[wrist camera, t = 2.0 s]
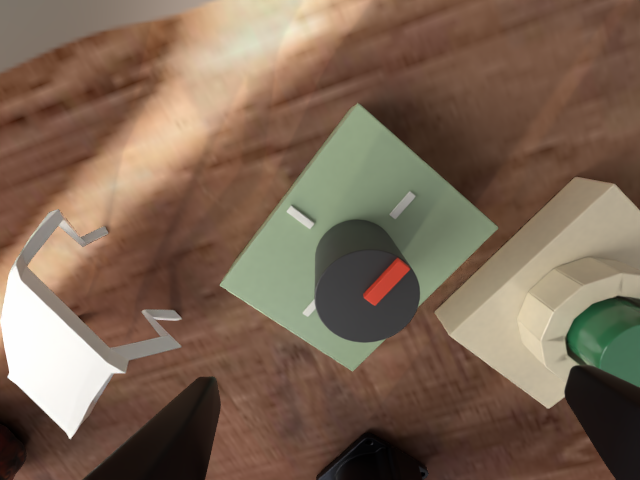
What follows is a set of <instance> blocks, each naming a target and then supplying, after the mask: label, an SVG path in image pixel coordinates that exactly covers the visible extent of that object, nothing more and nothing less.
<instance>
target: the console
mask: <svg viewBox="0 0 640 480" xmlns="http://www.w3.org/2000/svg"><path fill="white" fill-rule="evenodd" d="M357 219H358V220H366V221H370V222H373V223H375V224H377V225H379V226H380V227H382V228H383V229H384V230H385V231H386V232H387V233H388V234H389V236H390V237H391V238H392V240H393V241H394V243H395V244H396V246H397V247H398V249H399V250H400V252H401V253H402V255H403V256H404V257H405V259H406V260H407V262H408V263H409V265H410V266H411V268H412V269H413V271H414V273H415V274H416V276H417V279H418V282H419V286H420V300H419V305H418V307H419V306H420V305H421V304H422V303H423V302H424V301H425V300H426V299H427V298H428V297H429V296H430V295H431V294H432V293H433V292H434V291H435V290H436V289H437V288H438V287H439V286H440V285H441V284H442V283H443V282H444V281H445V280H446V279H447V278H448V277H449V276H450V275H451V274H452V273H453V272H454V271H455V270H456V269H457V268H458V267H459V266H460V265H461V264H462V263H463V262H464V261H466V260H467V259H468V258H469V257H470V256H471V255H472V254H473V253H474V252H475V251H476V250H477V249H478V248H479V247H480V246H481V245H482V244H483V243H484V242H485V241H486V240H487V239H488V238H489V237H490V236H491V235H492V234H493V233H494V232H495V231H496V230H497V229H498V226H497V225H495V224H494V223H493V222H492V221H491V220H490V219H489V218H488V217H486V216H485V215H484V214H483V213H482V212H481V211H480V210H479V209H477V208H476V207H475V206H474V205H473V204H472V203H471V202H470V201H468V200H467V199H466V198H465V197H464V196H463V195H462V194H461V193H459V192H458V191H457V190H456V189H455V188H454V187H453V186H452V185H450V184H449V183H448V182H447V181H446V180H445V179H444V178H443V177H441V176H440V175H439V174H438V173H437V172H436V171H435V170H434V169H432V168H431V167H430V166H429V165H428V164H427V163H426V162H425V161H423V160H422V159H421V158H420V157H419V156H418V155H417V154H415V153H414V152H413V151H412V150H411V149H410V148H409V147H408V146H406V145H405V144H404V143H403V142H402V141H401V140H400V139H399V138H397V137H396V136H395V135H394V134H393V133H392V132H391V131H390V130H388V129H387V128H386V127H385V126H384V125H383V124H382V123H381V122H379V121H378V120H377V119H376V118H375V117H374V116H373V115H372V114H370V113H369V112H368V111H367V110H366V109H365V108H364V107H363V106H361V105H360V104H359V103H358V104H356V105H355V106H353V107H352V108H350V109H349V111H348V112H347V113H346V115H345V116H344V117H343V119H342V120H341V121H340V123H339V124H338V125H337V127H336V128H335V129H334V131H333V132H332V133H331V135H330V136H329V137H328V138H327V140H326V141H325V142H324V144H323V145H322V146H321V148H320V149H319V150H318V152H317V153H316V154H315V156H314V157H313V158H312V160H311V161H310V162H309V164H308V165H307V166H306V168H305V169H304V170H303V172H302V173H301V174H300V175H299V177H298V178H297V179H296V181H295V182H294V183H293V185H292V186H291V187H290V189H289V190H288V191H287V193H286V194H285V195H284V197H283V198H282V199H281V201H280V202H279V203H278V205H277V206H276V207H275V208H274V210H273V211H272V212H271V214H270V215H269V216H268V218H267V219H266V220H265V222H264V223H263V224H262V226H261V227H260V228H259V230H258V231H257V232H256V234H255V235H254V236H253V238H252V239H251V240H250V241H249V243H248V244H247V245H246V247H245V248H244V249H243V251H242V252H241V253H240V255H239V256H238V257H237V259H236V260H235V261H234V263H233V264H232V266H231V268H230V269H229V271H228V272H227V274H226V275H225V277H224V279H223V280H222V282H221V283H220V286H221V287H223V288H224V289H226V290H227V291H229V292H230V293H232V294H234V295H235V296H237V297H238V298H240V299H241V300H243V301H244V302H246V303H247V304H249V305H251V306H252V307H254V308H255V309H257V310H258V311H260V312H261V313H263V314H265V315H266V316H268V317H269V318H271V319H272V320H274V321H275V322H277V323H278V324H280V325H282V326H283V327H285V328H286V329H288V330H289V331H291V332H292V333H294V334H295V335H297V336H299V337H300V338H302V339H303V340H305V341H306V342H308V343H309V344H311V345H313V346H314V347H316V348H317V349H319V350H320V351H322V352H323V353H325V354H326V355H328V356H330V357H331V358H333V359H334V360H336V361H337V362H339V363H340V364H342V365H343V366H345V367H347V368H348V369H350V370H351V371H354V370H355V369H356V368H357V367H358V366H359V365H360V364H361V363H362V362H363V361H364V360H365V359H366V358H367V357H368V356H369V355H370V354H371V353H372V352H373V351H374V350H375V349H376V348H377V347H378V346H379V345H380V344H381V343H382V342H383V341H384V340H385V339H384V340H380V341H376V342H368V343H361V342H353V341H349V340H346V339H343V338H341V337H339V336H337V335H335V334H334V333H332V332H331V331H330V330H329V329H328V328H327V327H326V326H325V325H324V324H323V323H322V321H321V320H320V318H319V316H318V314H317V311H316V307H315V300H314V289H315V253H316V248H317V246H318V243H319V241H320V239H321V238H322V237H323V235H324V234H325V233H326V232H327V231H328V230H329V229H331V228H332V227H333V226H335V225H337V224H339V223H341V222H344V221H348V220H357Z"/></svg>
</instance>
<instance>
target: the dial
mask: <svg viewBox="0 0 640 480" xmlns="http://www.w3.org/2000/svg"><path fill="white" fill-rule="evenodd" d="M314 300H315V307H316V311H317V314H318V316H319V318H320V320H321V321H322V323H323V324H324V325H325V326H326V327H327V328H328V329H329V330H330V331H331V332H332V333H334V334H335V335H337V336H339V337H341V338H343V339H346V340H349V341H353V342H361V343H368V342H376V341H380V340H384V339H386V338H389V337H391V336H393V335H395V334H396V333H398V332H399V331H401V330H402V329H403V328H404V327H405V326H406V325H407V324H408V323H409V322H410V321H411V319H412V318H413V317H414V315H415V313H416V311H417V308H418V305H419V300H420V286H419V282H418V279H417V276H416V274H415V273H414V271H413V269H412V268H411V266H410V265H409V263H408V262H407V260H406V259H405V257H404V256H403V255H402V253H401V252H400V250H399V249H398V247H397V246H396V244H395V243H394V241H393V240H392V238H391V237H390V236H389V234H388V233H387V232H386V231H385V230H384V229H383V228H382V227H380V226H379V225H377V224H375V223H373V222H370V221H366V220H358V219H357V220H348V221H344V222H341V223H339V224H337V225H335V226H333V227H332V228H331V229H329V230H328V231H327V232H326V233H325V234H324V235H323V237H322V238H321V239H320V241H319V243H318V246H317V248H316V253H315V289H314Z"/></svg>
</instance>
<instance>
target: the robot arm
mask: <svg viewBox="0 0 640 480" xmlns="http://www.w3.org/2000/svg"><path fill="white" fill-rule="evenodd" d="M564 394H565V398H566V400H567V402H568V404H569V406H570V407H571V409H572V411H573V412H574V414H575V415H576V417H577V419H578V420H579V422H580V424H581V425H582V427H583V429H584V430H585V432H586V434H587V435H588V437H589V438H590V440H591V442H592V443H593V445H594V447H595V448H596V450H597V452H598V453H599V455H600V456H601V458H602V459H603V461H604V463H605V464H606V466H607V467H608V469H609V470H610V472H611V473H612V474H613V476H614V477H615V479H616V480H640V387H638V386H636V385H633V384H631V383H629V382H627V381H625V380H623V379H621V378H618V377H616V376H614V375H612V374H610V373H608V372H605V371H603V370H601V369H599V368H597V367H595V366H592V365H575V366H573V367H572V368H571V369H570V372H569V376H568V379H567V383H566V386H565V390H564ZM220 406H221V402H220V396H219V390H218V384H217V380H216V378H215V377H199V378H197V379H196V380H195V381H194V382H193V383H191V384H190V385H189V386H188V387H187V388H186V389H185V390H183V391H182V392H181V393H180V394H179V395H178V396H177V397H176V398H174V399H173V400H172V401H171V402H170V403H169V404H168V405H166V406H165V407H164V408H163V409H162V410H161V411H160V412H159V413H157V414H156V415H155V416H154V417H153V418H152V419H151V420H149V421H148V422H147V423H146V424H145V425H144V426H143V427H142V428H140V429H139V430H138V431H137V432H136V433H135V434H134V435H132V436H131V437H130V438H129V439H128V440H127V441H126V442H125V443H123V444H122V445H121V446H120V447H119V448H118V449H117V450H115V451H114V452H113V453H112V454H111V455H110V456H109V457H108V458H106V459H105V460H104V461H103V462H102V463H101V464H100V465H98V466H97V467H96V468H95V469H94V470H93V471H92V472H91V473H89V474H88V475H87V476H86V477H85V478H84V479H83V480H205V477H206V472H207V468H208V464H209V459H210V455H211V450H212V446H213V441H214V436H215V432H216V427H217V423H218V418H219V414H220ZM428 474H429V473H428V470H427V467H426V466H425V465H423V464H422V463H420V462H418V461H417V460H415V459H413V458H412V457H410V456H408V455H407V454H405V453H403V452H402V451H400V450H398V449H397V448H395V447H393V446H392V445H390V444H388V443H387V442H385V441H383V440H382V439H380V438H378V437H377V436H375V435H373V434H371V433H365V434H363V435H362V436H361V437H360V438H359V439H358V440H357V441H355V442H354V443H353V444H352V445H351V446H350V447H349V448H348V449H346V450H345V451H344V452H343V453H342V454H341V455H340V456H339V457H337V458H336V459H335V460H334V461H333V462H332V463H331V464H330V465H329V466H327V467H326V468H325V469H324V470H323V471H322V472H321V473H320V474H318V475H317V477H316V480H424V479H425V478H426V477H427V476H428Z"/></svg>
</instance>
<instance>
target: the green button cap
mask: <svg viewBox="0 0 640 480" xmlns="http://www.w3.org/2000/svg"><path fill="white" fill-rule="evenodd" d="M566 339H567V344H568V346H569V348H570V350H571V351H572V352H573V353H574V354H575V355H577V356H578V357H579V358H580V359H581V360H582V361H583V362H585V363H586V364H587V365H592V366H595V367H597V368H599V369H601V370H603V371H605V372H608V373H610V374H612V375H614V376H616V377H618V378H621V379H623V380H625V381H627V382H629V383H631V384H633V385H636V386H638V387H640V307H638V306H636V305H634V304H633V303H631V302H629V301H627V300H624V299H617V298H610V299H606V300H603V301H600V302H596V303H593V304H592V305H591V306H589V307H588V308H587V309H586V310H585V311H583V312H582V313H581V314H580V315H578V316H577V317H576V318H575V319H574V320H573V322H572V324H571V327H570V329H569V331H568V333H567V335H566Z"/></svg>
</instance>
